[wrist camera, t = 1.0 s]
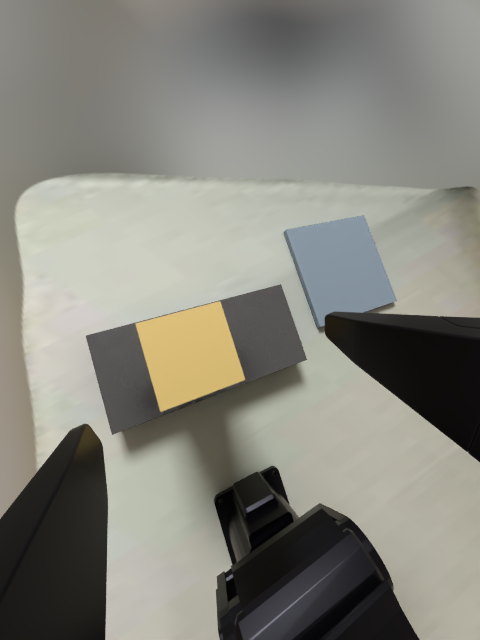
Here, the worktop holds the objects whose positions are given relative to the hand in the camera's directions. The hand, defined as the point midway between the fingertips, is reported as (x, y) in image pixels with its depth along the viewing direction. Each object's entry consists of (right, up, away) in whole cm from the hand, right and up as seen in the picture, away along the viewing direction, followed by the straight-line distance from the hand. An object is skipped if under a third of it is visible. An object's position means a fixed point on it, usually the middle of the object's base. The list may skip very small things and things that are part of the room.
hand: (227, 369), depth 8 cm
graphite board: (-3, -1, +15) cm, 15 cm away
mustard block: (-5, -2, +15) cm, 15 cm away
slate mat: (+13, +8, +21) cm, 26 cm away
